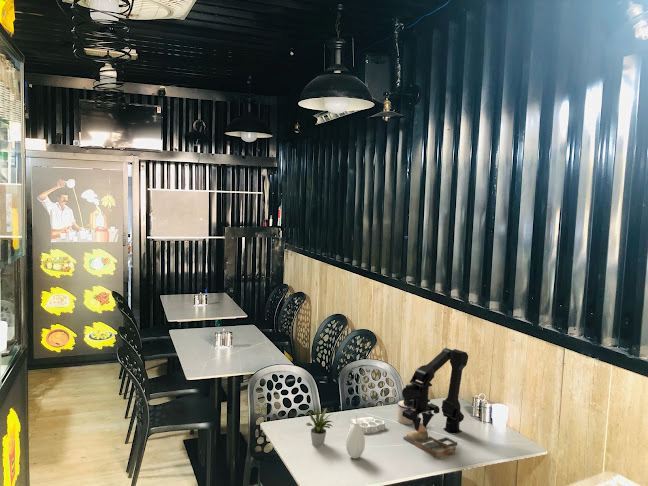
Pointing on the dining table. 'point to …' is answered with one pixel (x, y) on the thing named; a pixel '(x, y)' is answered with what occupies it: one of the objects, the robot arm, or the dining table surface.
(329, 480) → the dining table surface
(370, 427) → the white paint palette
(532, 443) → the dining table surface
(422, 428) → the ball
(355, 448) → the white vase
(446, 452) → the walnut lane
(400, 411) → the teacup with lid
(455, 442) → the grey square frame
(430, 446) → the runway mat
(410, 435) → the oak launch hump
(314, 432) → the house plant
